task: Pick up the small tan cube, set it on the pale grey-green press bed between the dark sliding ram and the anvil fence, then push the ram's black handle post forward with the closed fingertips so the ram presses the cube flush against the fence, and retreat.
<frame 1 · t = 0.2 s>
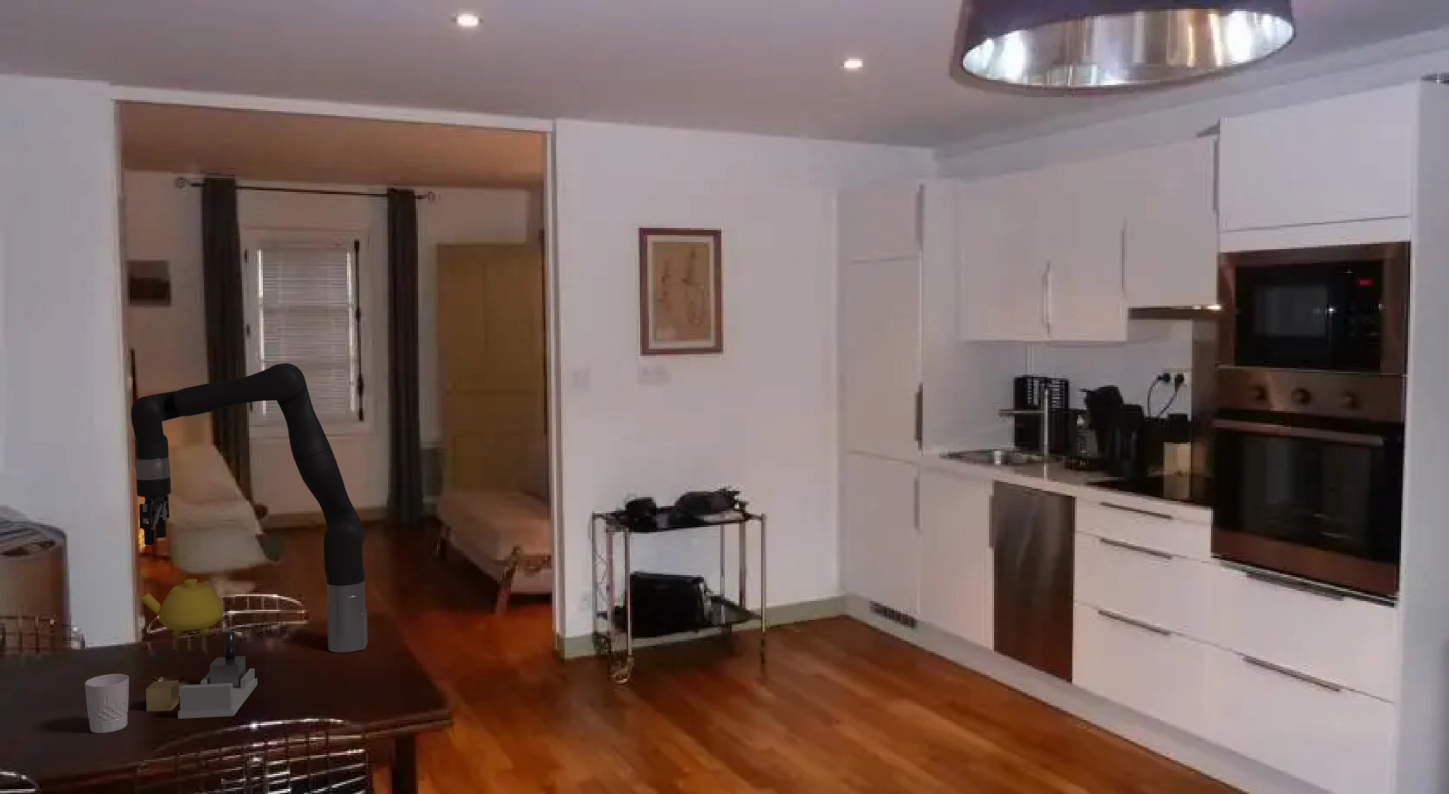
hand: (155, 541, 271), 29 cm above the table, fingers open, 8 cm apart
ram: (227, 658, 248), point 7 cm above the table, slide at 0.0 cm
teapot: (183, 631, 295), on the table
tan cube: (163, 707, 238), on the table
press: (219, 700, 242), on the table
white cup: (108, 728, 226), on the table
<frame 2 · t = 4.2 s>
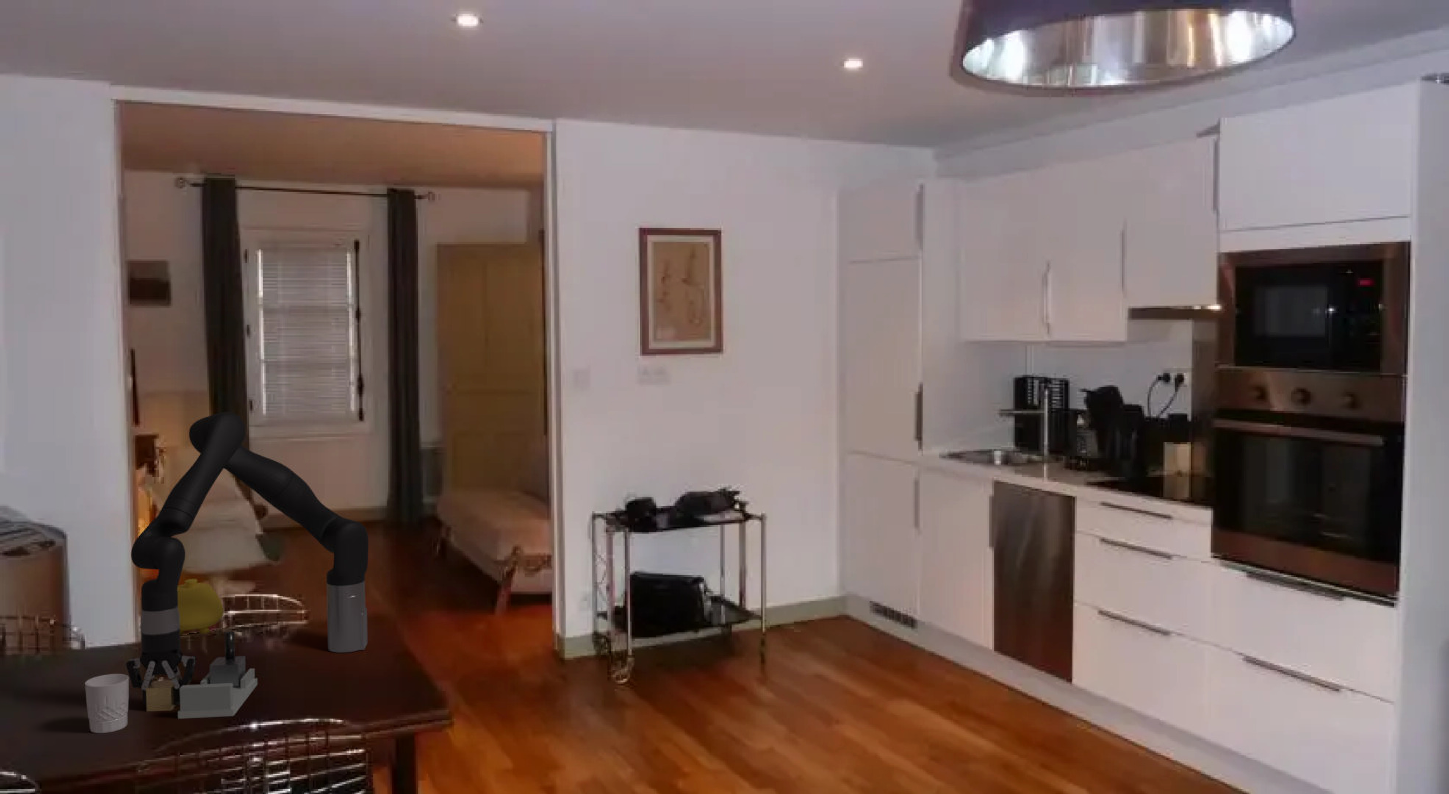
hand: (163, 704, 238), 1 cm above the table, fingers closed on tan cube, 5 cm apart
tan cube: (163, 706, 238), on the table, touching gripper
everything else where it was.
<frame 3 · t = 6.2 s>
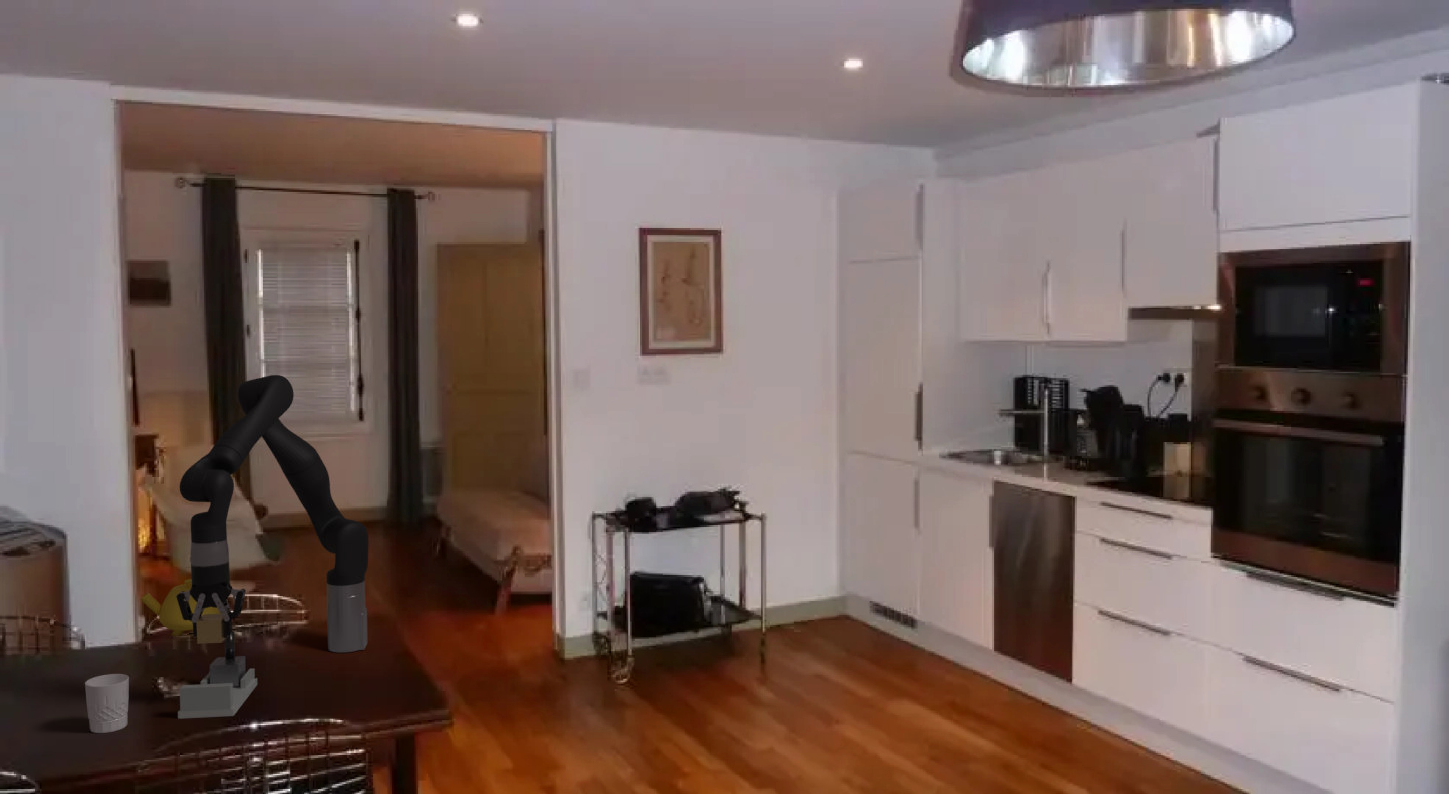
hand: (213, 637, 238), 15 cm above the table, fingers closed on tan cube, 5 cm apart
tan cube: (213, 639, 238), point 14 cm above the table, touching gripper
everything else where it was.
when the fingers open (3 cm above the table, at t = 8.6 s): tan cube drops 1 cm, resting on press.
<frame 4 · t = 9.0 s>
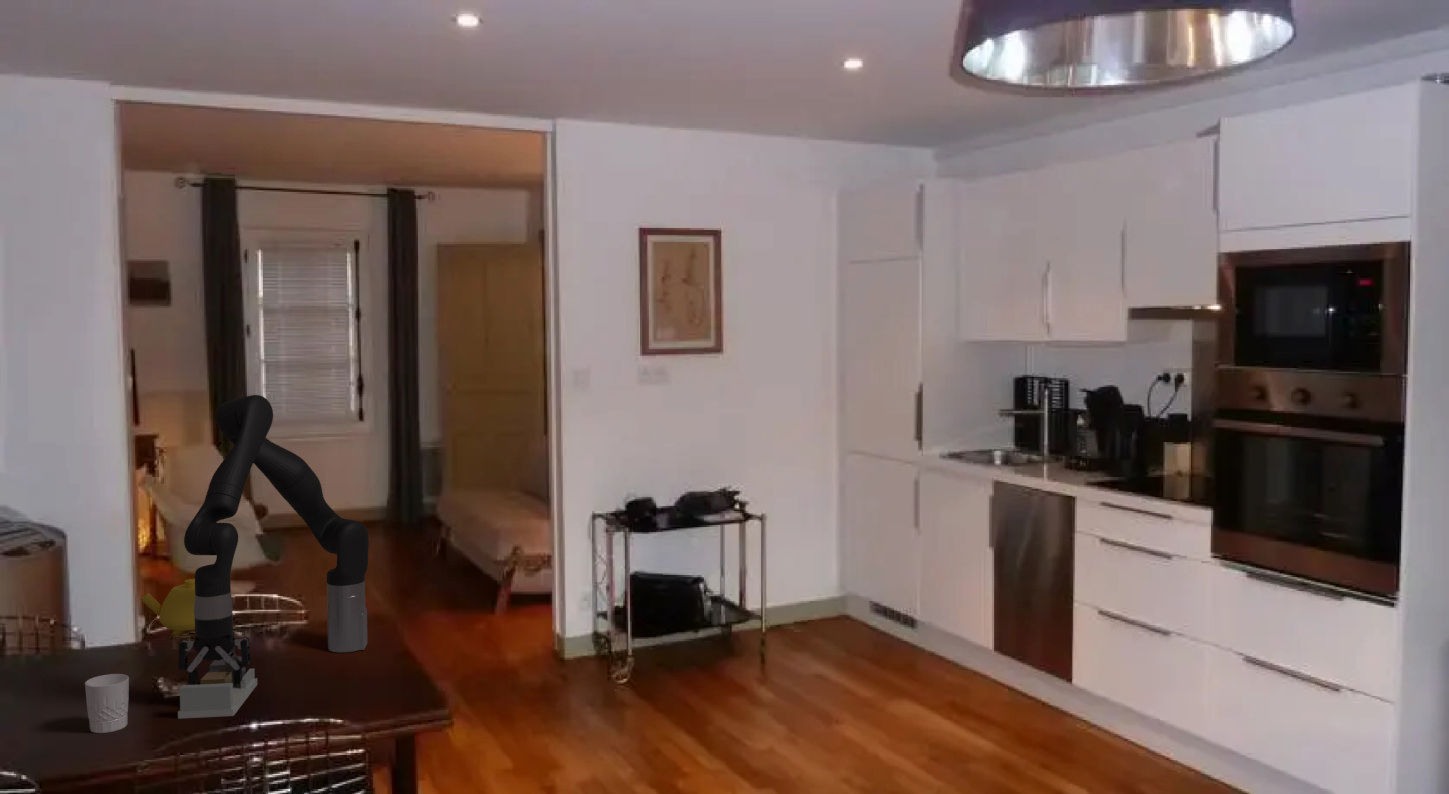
hand: (215, 686, 239), 4 cm above the table, fingers open, 8 cm apart
tan cube: (216, 698, 239), point 1 cm above the table, touching press
everything else where it was.
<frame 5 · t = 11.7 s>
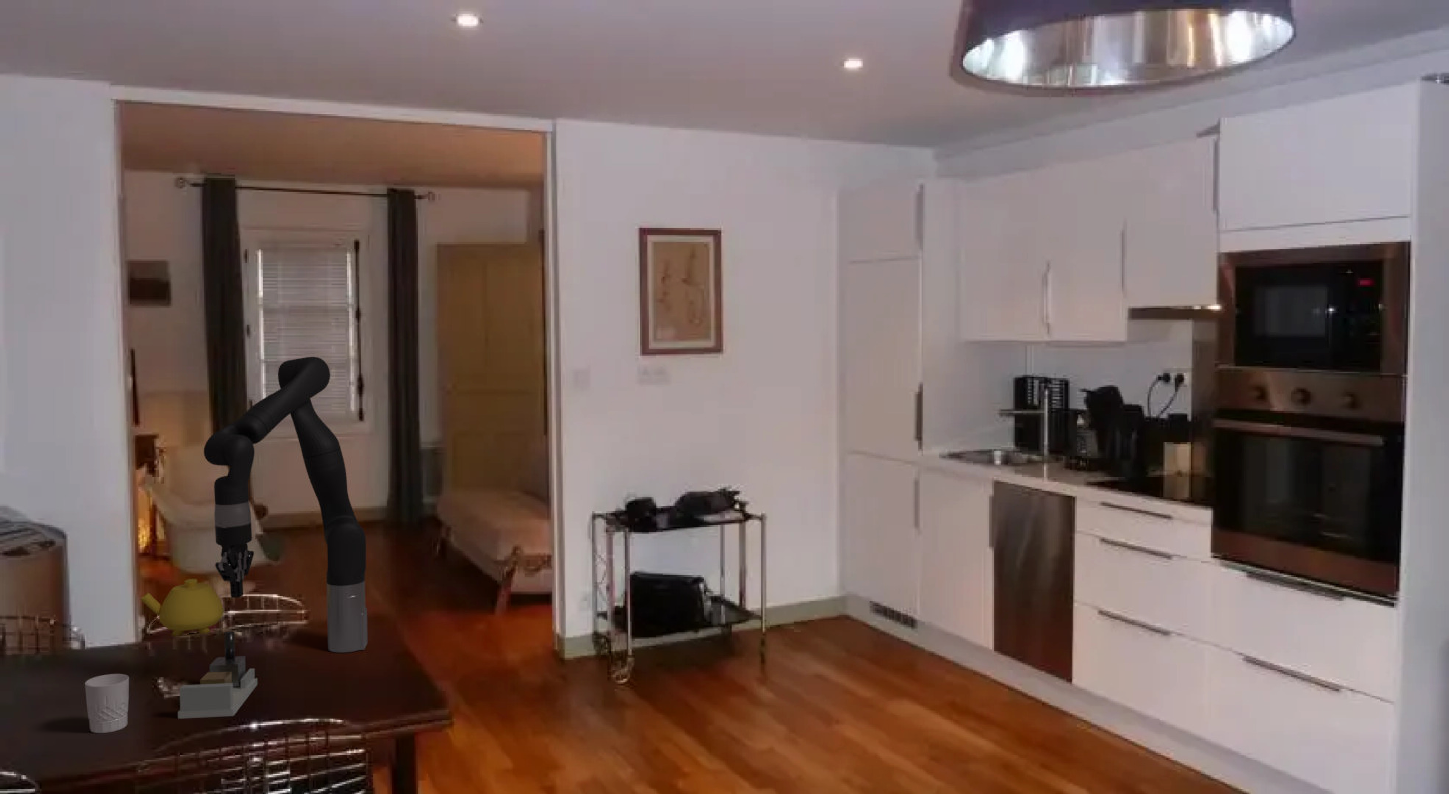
hand: (237, 597, 250), 21 cm above the table, fingers closed
nothing on the table moved.
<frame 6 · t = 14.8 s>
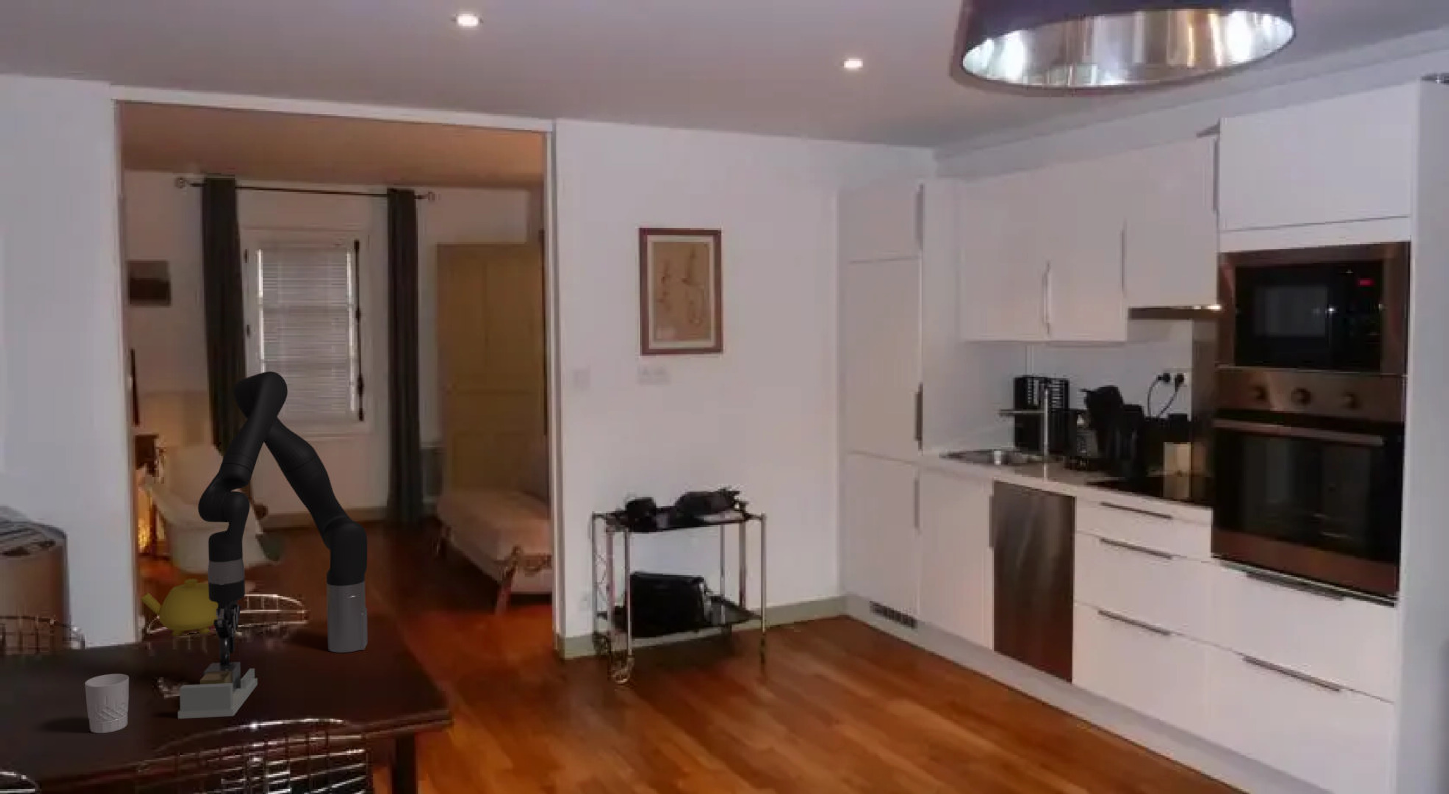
hand: (228, 652, 250), 8 cm above the table, fingers closed
ram: (222, 664, 244), point 7 cm above the table, slide at 4.3 cm, touching hand, tan cube
tan cube: (216, 698, 239), point 2 cm above the table, touching ram
everything else where it was.
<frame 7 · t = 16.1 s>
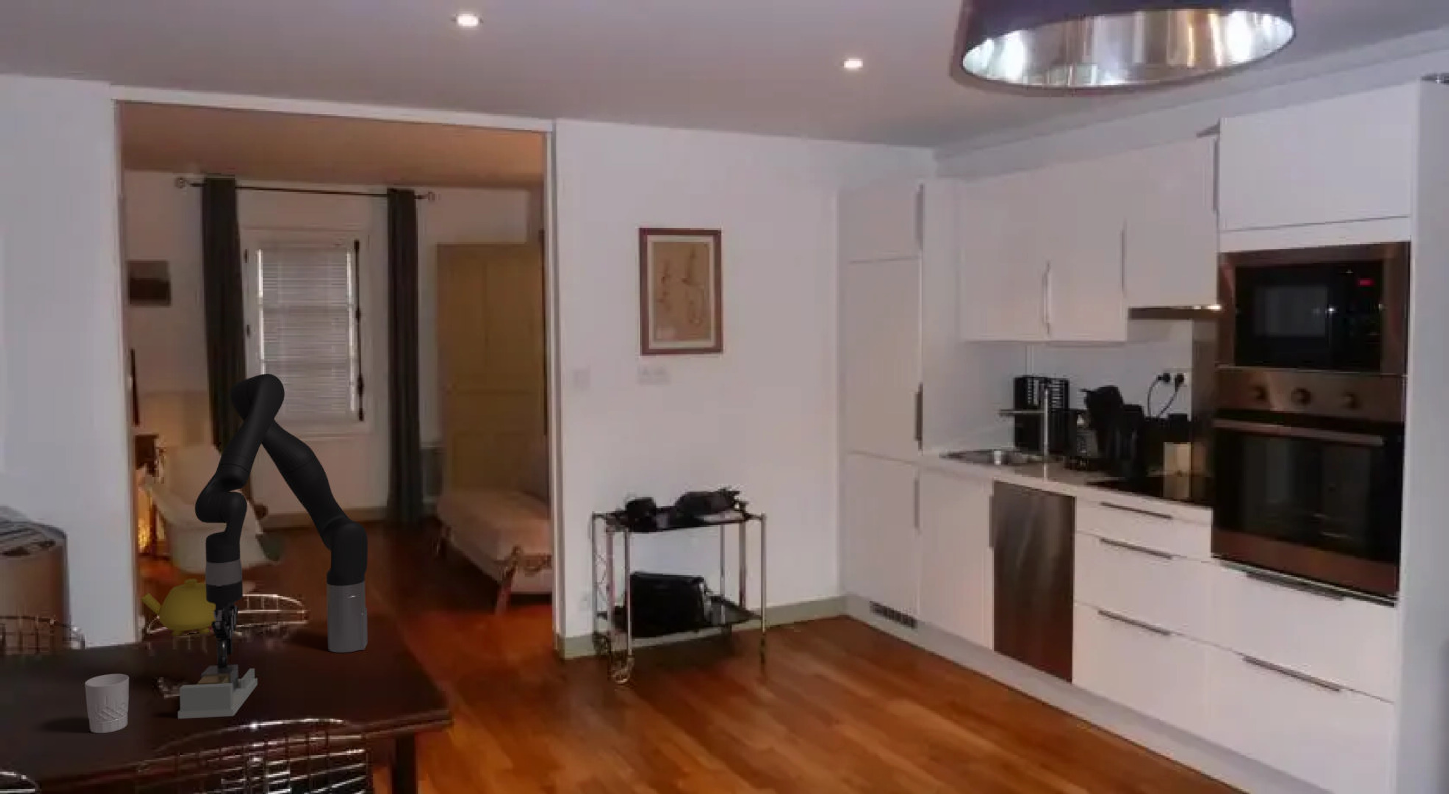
hand: (226, 653, 248), 8 cm above the table, fingers closed
ram: (219, 667, 242), point 7 cm above the table, slide at 6.1 cm, touching gripper, tan cube
tan cube: (213, 701, 237), point 1 cm above the table, touching press, ram
everything else where it was.
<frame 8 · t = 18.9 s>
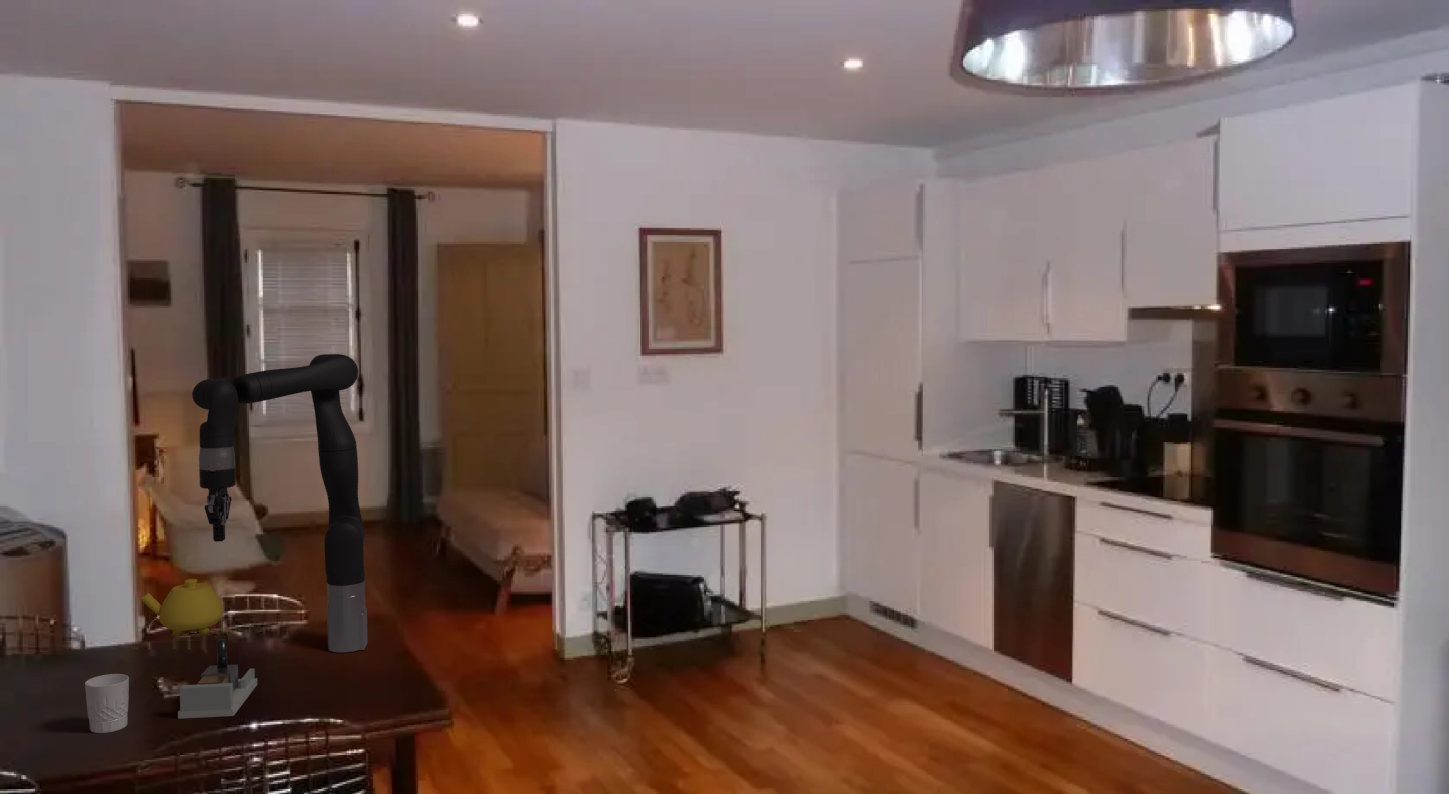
hand: (219, 540, 253), 33 cm above the table, fingers closed
ram: (219, 667, 242), point 7 cm above the table, slide at 6.1 cm, touching tan cube
everything else where it was.
at the end: tan cube 1.4 cm from the target spot on the press, point 1.5 cm above the press's base; tan cube tilted 0°; ram slide at 6.1 cm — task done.
